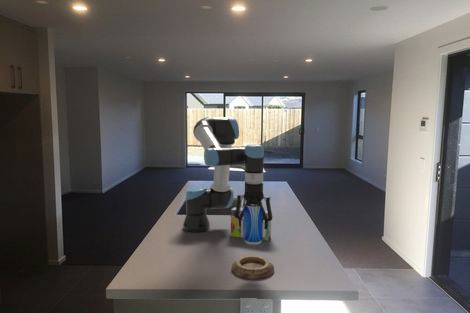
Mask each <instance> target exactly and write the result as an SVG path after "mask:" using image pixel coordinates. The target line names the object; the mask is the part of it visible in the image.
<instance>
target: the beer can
mask: <svg viewBox="0 0 470 313" xmlns="http://www.w3.org/2000/svg"><path fill="white" fill-rule="evenodd" d="M263 221H264V219H263V211H262V209H261V208H260V206H257V205H254V204H252V205H250V204H249V205H248V206H247V205H246V207H245V209H244V215H243V241H244V243H246V244H247V245H251V246H253V245H260V244H261V243H262V242H263V241H264V240H263V237H262V231H263Z"/></svg>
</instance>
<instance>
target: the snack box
mask: <svg viewBox="0 0 470 313" xmlns="http://www.w3.org/2000/svg"><path fill="white" fill-rule="evenodd" d="M243 208H244V207H240V212H239V215H240V214H241V212H242V210H243ZM264 210H265V209H264ZM235 212H236V207H232V208H231V210H230V237H232V238H233V237H235V238H243V235H241V227H239V219H238V218H235ZM265 212H266V215H267V217H268V212H267V209H266V210H265ZM271 237H272V220H271V221H268V228H267V229H265V237H263V240H262V241H265V242H269V240H271Z"/></svg>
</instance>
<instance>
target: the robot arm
mask: <svg viewBox="0 0 470 313" xmlns="http://www.w3.org/2000/svg"><path fill="white" fill-rule="evenodd" d="M193 135H194V138H195V139H196V140H197V141H198V142H199V143H200V144H201V146H202V148H203V150H204V152H203V162H204V164H205V165H206V166H207V167H208V166H209V167H214V170H213V181H212V183H211V184H210V188H207V187H206V186H203V185H202V186H201V185H200V186H194V187H193V186H192V187H190V188H188V189H187V190H186V192H185V214H186V215H185V216H184V217H185V218H184V219H183V220H184V221H183V224H182V225H183V226H182V229H183V230H184V231H186V232H191V233H201V232H205V231H208V230H210V227H211V226H210V225H211V224H210V221H209V217H208V214H207V211H208V210H215V209H217V210H218V209H221V210H224V209H229V208H230V207H232V205H233V203H234V190H233V188H232V187H231V185H230V183H229V181H230V172H231V171H230V169H231V167H230V166H240V165H241V166H242V165H243V166H244V182H245V183H244V193H243V194H241V193H239V194H238V195H237V196H236V199H237V203H236V207H235V208H236V212H235V218H238V219H239V227H241V235H243V215H244V209H245V207H246V205H247V206H248V205H249V204H250V205H252V204H254V205H257V206H260V208H261V209H262V211H263V219H264V221H263V231H262V237H265V229H267V228H268V221H271V222H272V220H273V212H272V211H273V210H272V208H271V207H272V206H271V196H270V195H268V196H266V195H264V183H263V182H264V162H265V161H264V159H265V158H264V156H265V153H264V152H265V151H264V150H265V149H264V146H263V145H262V144H247V145H245V146H240V147H232V146H233V145H234V144H235V143H236V142H235V141H236V140H237V139H239V137H240V126H239V123H238V121H237V118H235V117H231V116H225V117H224V116H216V117H215V116H214V117H213V116H211V117H204V118H202V119H200V120H198V121H197V122H196V123H195V125H194V126H193ZM243 199H244V200H245V205H244V206H243V207H241V206H242V202H243ZM263 200H264V202H265V205H266V211H267V212H268V217H267V215H266V212H265V209H264V205H263V202H262V201H263ZM240 208H243V210H242V212H241V214H240V215H239V212H240Z"/></svg>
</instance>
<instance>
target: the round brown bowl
mask: <svg viewBox="0 0 470 313" xmlns="http://www.w3.org/2000/svg"><path fill="white" fill-rule="evenodd" d="M231 272H232V274H234V275H235V276H237V277H238V278H241V279H245V280H254V281H255V280H263V279H266V278H269V277H271V276H272V275H273V274H274V272H275V266H274V265H273V264H272V262H270V261H269V260H268V259H267V258H266V257H263V256H260V255H251V254H250V255H244V256H240V257H238V258H237V259H236V260H235V261H234V262H233V263H232V264H231Z"/></svg>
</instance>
